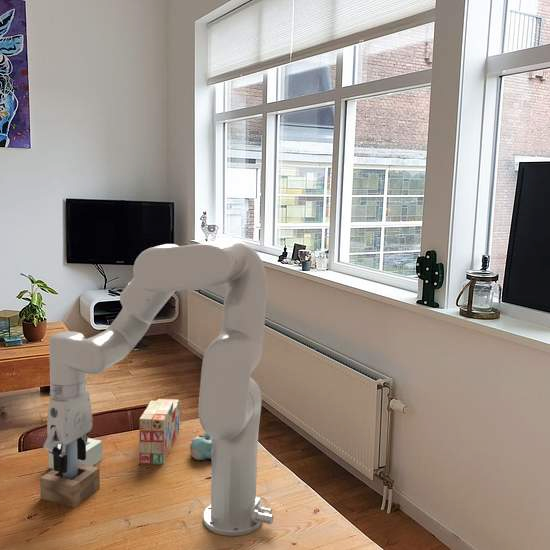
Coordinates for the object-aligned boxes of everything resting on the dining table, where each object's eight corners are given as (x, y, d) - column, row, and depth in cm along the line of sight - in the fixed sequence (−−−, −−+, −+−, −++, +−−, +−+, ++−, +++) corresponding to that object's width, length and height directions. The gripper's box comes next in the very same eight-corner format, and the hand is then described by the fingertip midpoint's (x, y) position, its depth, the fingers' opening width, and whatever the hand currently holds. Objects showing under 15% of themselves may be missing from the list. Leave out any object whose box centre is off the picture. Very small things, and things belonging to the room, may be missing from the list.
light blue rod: (81, 491, 136) (79, 425, 133) (71, 498, 133) (70, 430, 130) (69, 488, 137) (68, 422, 134) (60, 495, 134) (58, 427, 131)
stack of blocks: (157, 429, 171) (158, 388, 169) (179, 430, 171) (180, 389, 169) (139, 464, 150) (139, 417, 148) (163, 465, 150) (164, 419, 148)
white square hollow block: (102, 459, 151) (102, 440, 151) (79, 475, 143) (79, 455, 142) (73, 452, 154) (73, 434, 154) (49, 468, 146) (48, 448, 145)
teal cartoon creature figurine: (242, 433, 158) (211, 439, 148) (238, 459, 158) (206, 467, 148) (212, 422, 164) (181, 427, 154) (208, 447, 164) (177, 454, 154)
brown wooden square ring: (99, 488, 138) (99, 467, 137) (74, 507, 129) (73, 486, 128) (67, 480, 141) (67, 460, 140) (40, 498, 132) (40, 477, 131)
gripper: (55, 404, 122) (57, 486, 125) (106, 379, 138) (107, 452, 141) (26, 398, 124) (29, 479, 127) (79, 374, 140) (81, 446, 143)
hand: (70, 464), depth 134 cm, fingers open, 5 cm apart
